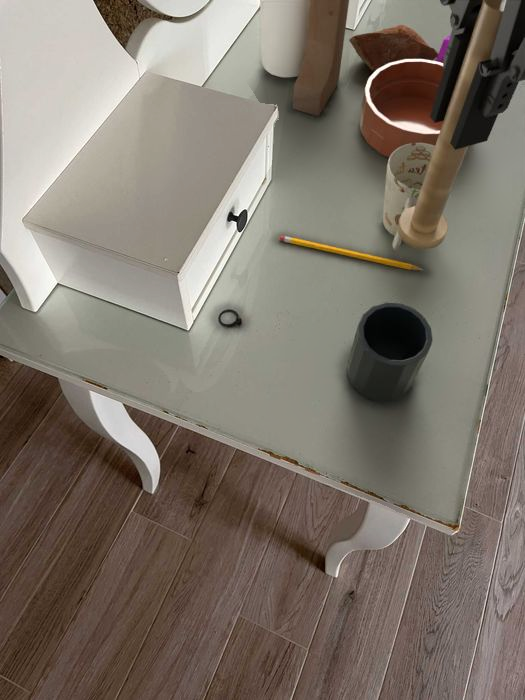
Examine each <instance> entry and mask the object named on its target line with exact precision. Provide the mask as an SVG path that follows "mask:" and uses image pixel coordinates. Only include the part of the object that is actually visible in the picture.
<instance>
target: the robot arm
mask: <svg viewBox="0 0 525 700" xmlns="http://www.w3.org/2000/svg"><path fill="white" fill-rule="evenodd" d="M439 2H440V4H441V5H442V6H443V7H446V6H448V7H449V9H450V12H451V13H450V16H449V24H450V27H451V32H450V35H451V36H450V35H449V36H450V39H449V42H448V47H447V49H446V52H445V56H444V59H443V68H444V72H443V75H442V78H441V81H440V85H439V88H438V91H437V95H436V98H435V101H434V105H433V108H432V111H431V114H430V118H431V119H432V120H433V122H434V123H437V122H440V121H444V118H445V115H446V112H447V109H448V106H449V103H450V100H451V97H452V94H453V91H454V88H455V85H456V81H457V78H458V75H459V72H460V69H461V66H462V63H463V60H464V57H465V54H466V51H467V48H468V45H469V42H470V39H471V36H472V33H473V30H474V27H475V24H476V21H477V18H478V15H479V12H480V9H481V5H482V2H483V0H439ZM522 81H525V0H506V4H505V7H504V11H503V14H502V18H501V22H500V25H499V29H498V32H497V36H496V39H495V43H494V47H493V50H492V54H491V57H490V60H486V61H482V62H479V63H478V66H477V69H476V71H475V74H474V77H473V80H472V83H471V85H470V88H469V91H468V94H467V97H466V100H465V102H464V105H463V108H462V111H461V114H460V116H459V119H458V122H457V125H456V128H455V131H454V133H453V136H452V139H451V142H450V144H451V145H452V146H453V148H454V149H455V150H456V149H460V148H463V147H467V146H468V147H470V146H474V145H479V144H480V143H484V142H487V141H488V140H489V138H490V135H491V132H492V130H493V128H494V126H495V123H496V120H497V118H498V116H499V114H503V113H504V112H505V111H506V110H507V109H508V108H509V106H510V103H511V101H512V99H513V95H514V94H515V91H516V90H517V87H518V85H519V84H520V83H519V82H522Z"/></svg>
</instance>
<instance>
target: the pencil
mask: <svg viewBox="0 0 525 700" xmlns="http://www.w3.org/2000/svg"><path fill="white" fill-rule="evenodd" d="M279 241H280V242H284V243H288V244H293V245H297V246H302V247H306V248H310V249H313V250H314V249H315V250H319V251H324V252H327V253H333V254H337V255H341V256H345V257H351V258H355V259H358V260H359V259H360V260H364V261H369V262H372V263H377V264H380V265H381V264H382V265H387V266H390V267H395V268H400V269H404V270H408V271H424V269H423V268H421V267H418V266H417V265H414V264H413V263H407V262H403V261H398V260H394V259H391V258H385V257H381V256H375V255H372V254H368V253H363V252H359V251H353V250H349V249H345V248H340V247H335V246H331V245H327V244H322V243H318V242H313V241H309V240H304V239H300V238H296V237H291V236H288V235H287V236H286V235H282V234H281V235H279Z"/></svg>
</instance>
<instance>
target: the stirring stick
mask: <svg viewBox="0 0 525 700" xmlns="http://www.w3.org/2000/svg"><path fill="white" fill-rule="evenodd" d="M505 4H506V0H483V2H482V5H481V9H480V12H479V15H478V18H477V21H476V24H475V27H474V30H473V33H472V36H471V39H470V42H469V45H468V48H467V51H466V54H465V57H464V60H463V63H462V66H461V69H460V72H459V75H458V78H457V81H456V85H455V88H454V91H453V94H452V97H451V100H450V103H449V106H448V109H447V112H446V115H445V118H444V121H443V124H442V127H441V130H440V133H439V136H438V139H437V142H436V145H435V148H434V151H433V154H432V157H431V160H430V164H429V167H428V170H427V173H426V176H425V179H424V182H423V185H422V188H421V191H420V194H419V197H418V200H417V203H416V206H414V207H411V208H408V209H407V210H405V211H404V212H403V213H402V215H401V216H400V219H399V223H398V227H397V230H398V234H399V236H400V238H401V239H402V241H403V242H404V243H405V244H406V245H408V246H409V247H412V248H414V249H419V250H431V249H434V248H437V247H438V246H440V245H441V244H442V243H443V242H444V240H445V238H446V235H447V233H448V230H449V223H448V220H447V219H446V216H444V214H443V212H444V210H445V207H446V205H447V203H448V200H449V197H450V195H451V192H452V190H453V187H454V185H455V182H456V179H457V177H458V174H459V171H460V169H461V166H462V164H463V161H464V159H465V156H466V154H467V151H468V148H469V146H467V147H463V148H460V149H456V150H455V149H454V148H453V146H452V145H451V144H450V142H451V139H452V136H453V133H454V131H455V128H456V125H457V122H458V119H459V116H460V114H461V111H462V108H463V105H464V102H465V100H466V97H467V94H468V91H469V88H470V85H471V83H472V80H473V77H474V74H475V71H476V69H477V66H478V63H479V62H482V61H486V60H490V57H491V54H492V50H493V47H494V43H495V39H496V36H497V32H498V29H499V25H500V22H501V18H502V14H503V11H504V7H505Z"/></svg>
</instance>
